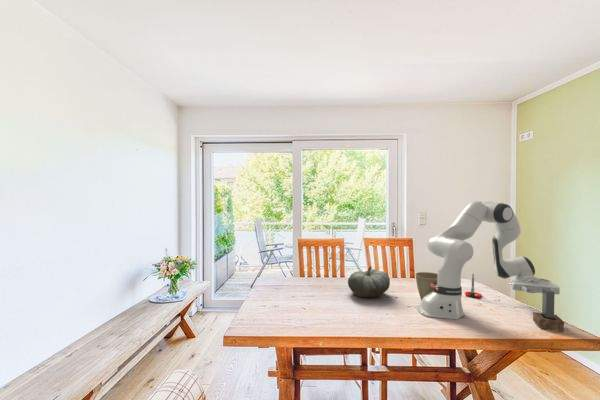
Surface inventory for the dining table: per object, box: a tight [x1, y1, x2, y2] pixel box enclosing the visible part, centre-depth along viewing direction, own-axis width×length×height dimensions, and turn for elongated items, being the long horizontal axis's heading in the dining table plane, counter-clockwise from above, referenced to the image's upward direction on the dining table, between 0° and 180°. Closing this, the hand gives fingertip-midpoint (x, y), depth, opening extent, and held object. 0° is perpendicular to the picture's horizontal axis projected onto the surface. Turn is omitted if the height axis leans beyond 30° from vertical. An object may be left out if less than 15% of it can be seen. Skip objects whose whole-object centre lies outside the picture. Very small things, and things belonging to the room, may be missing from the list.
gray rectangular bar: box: [541, 288, 555, 320], centre depth 142 cm, size 3×5×16 cm, turn 158°
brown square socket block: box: [532, 311, 565, 332], centre depth 142 cm, size 9×9×4 cm
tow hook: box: [464, 273, 483, 299], centre depth 186 cm, size 9×14×10 cm
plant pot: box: [415, 271, 437, 302], centre depth 172 cm, size 15×15×16 cm
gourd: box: [347, 266, 391, 298], centre depth 186 cm, size 25×25×17 cm
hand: (539, 291), depth 153 cm, fingers open, 8 cm apart
